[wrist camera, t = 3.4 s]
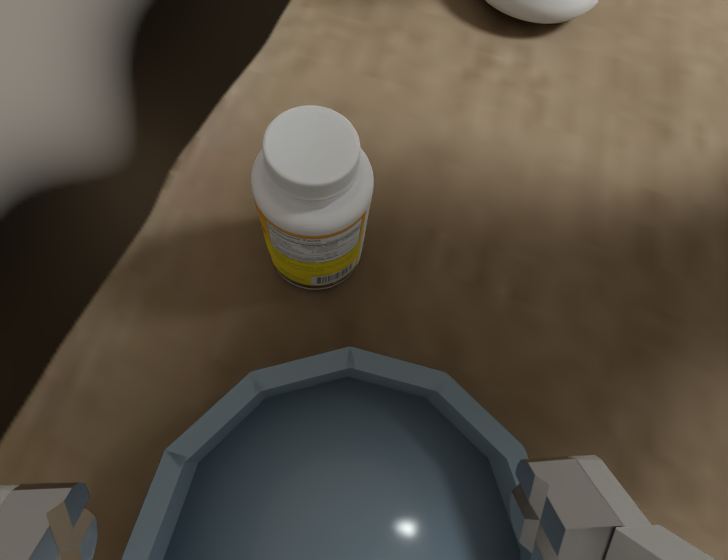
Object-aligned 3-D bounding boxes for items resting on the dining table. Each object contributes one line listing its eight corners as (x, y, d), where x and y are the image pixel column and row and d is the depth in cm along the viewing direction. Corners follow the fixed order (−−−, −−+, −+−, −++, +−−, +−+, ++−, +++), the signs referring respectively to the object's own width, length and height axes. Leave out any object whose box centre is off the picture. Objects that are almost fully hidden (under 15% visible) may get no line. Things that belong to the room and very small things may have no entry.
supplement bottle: (296, 196, 29) (284, 69, 20) (376, 233, 29) (402, 121, 19) (251, 268, 27) (213, 165, 18) (335, 309, 27) (343, 225, 17)
